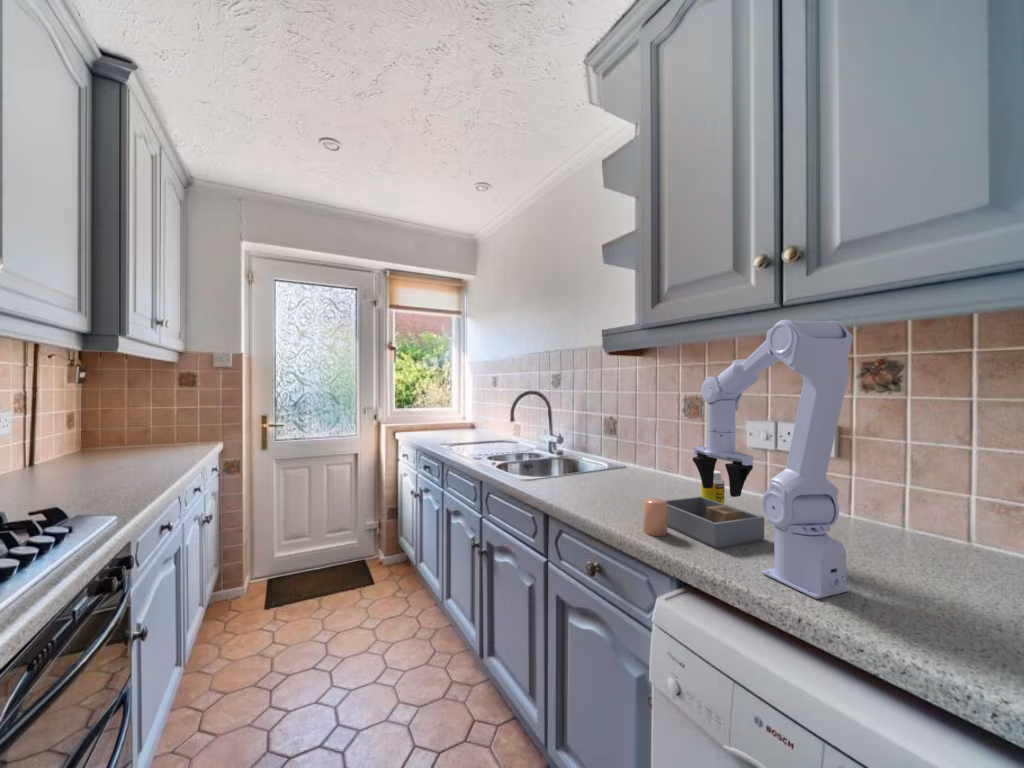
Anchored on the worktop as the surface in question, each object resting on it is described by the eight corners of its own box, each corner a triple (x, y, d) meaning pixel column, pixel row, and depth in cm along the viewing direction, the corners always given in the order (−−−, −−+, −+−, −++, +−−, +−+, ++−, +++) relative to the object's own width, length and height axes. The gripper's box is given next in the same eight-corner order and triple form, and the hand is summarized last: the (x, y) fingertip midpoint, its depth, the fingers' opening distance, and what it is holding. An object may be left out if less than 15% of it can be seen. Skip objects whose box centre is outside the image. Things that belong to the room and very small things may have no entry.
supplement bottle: (717, 514, 106) (717, 474, 106) (697, 508, 111) (697, 470, 111) (728, 510, 109) (728, 472, 109) (708, 505, 114) (708, 468, 114)
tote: (764, 540, 88) (764, 517, 88) (715, 549, 83) (715, 524, 83) (700, 516, 104) (701, 496, 104) (657, 521, 100) (657, 501, 100)
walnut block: (741, 534, 90) (741, 511, 90) (724, 536, 88) (724, 513, 88) (722, 526, 95) (723, 505, 95) (706, 529, 93) (706, 507, 93)
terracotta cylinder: (672, 534, 91) (671, 503, 91) (652, 537, 89) (652, 505, 90) (657, 527, 96) (657, 497, 96) (639, 529, 94) (638, 499, 94)
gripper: (683, 428, 97) (683, 485, 97) (734, 435, 84) (734, 502, 84) (706, 427, 100) (706, 483, 100) (760, 434, 86) (760, 499, 86)
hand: (721, 491), depth 92 cm, fingers open, 7 cm apart
